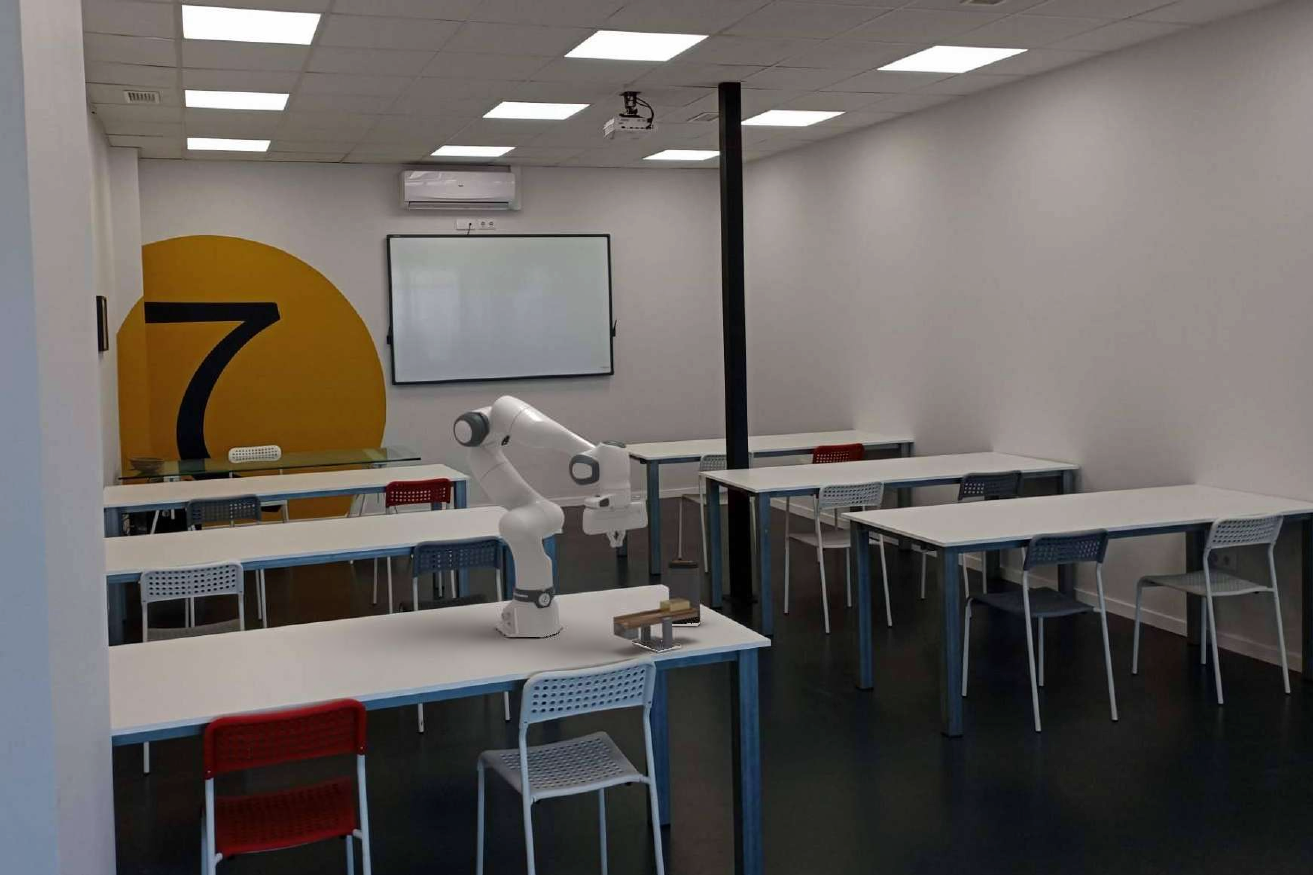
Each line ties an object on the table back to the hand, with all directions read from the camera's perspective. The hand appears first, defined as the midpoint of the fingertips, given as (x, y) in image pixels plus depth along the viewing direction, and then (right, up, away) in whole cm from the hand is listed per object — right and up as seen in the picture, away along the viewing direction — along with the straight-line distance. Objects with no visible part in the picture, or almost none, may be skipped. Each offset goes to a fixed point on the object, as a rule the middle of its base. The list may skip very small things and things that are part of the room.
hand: (616, 546), depth 320 cm
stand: (+11, -29, +3) cm, 31 cm away
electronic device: (+20, -27, +26) cm, 43 cm away
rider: (+17, -20, +6) cm, 27 cm away
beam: (+11, -24, +2) cm, 27 cm away
